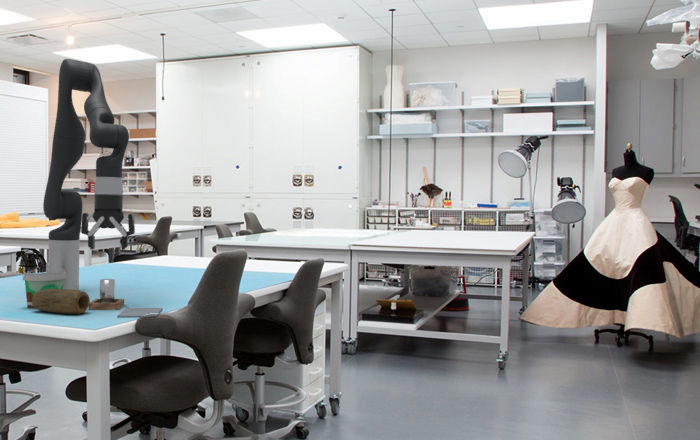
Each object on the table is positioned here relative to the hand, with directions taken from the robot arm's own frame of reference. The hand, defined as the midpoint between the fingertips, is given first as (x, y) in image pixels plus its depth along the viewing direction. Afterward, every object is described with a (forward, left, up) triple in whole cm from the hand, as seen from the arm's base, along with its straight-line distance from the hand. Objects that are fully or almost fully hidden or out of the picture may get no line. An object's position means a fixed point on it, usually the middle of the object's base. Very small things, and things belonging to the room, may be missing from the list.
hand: (108, 249), depth 176 cm
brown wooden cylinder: (-10, -8, -17) cm, 21 cm away
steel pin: (0, 0, -17) cm, 17 cm away
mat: (+11, -9, -17) cm, 22 cm away
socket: (0, 0, -17) cm, 17 cm away
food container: (-16, +1, -17) cm, 23 cm away
